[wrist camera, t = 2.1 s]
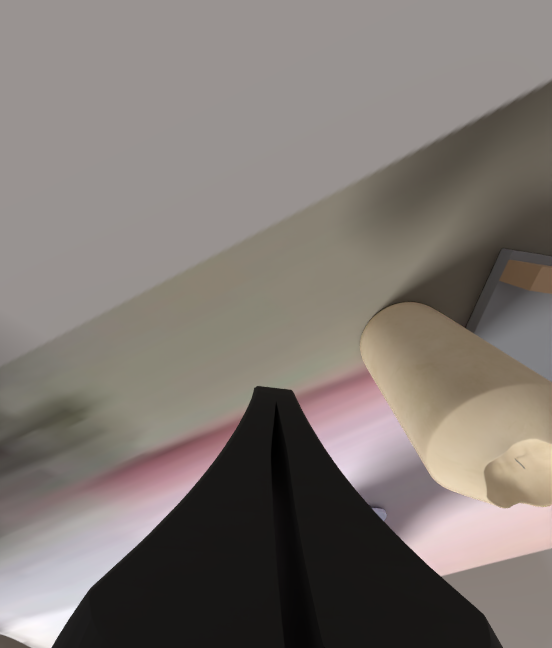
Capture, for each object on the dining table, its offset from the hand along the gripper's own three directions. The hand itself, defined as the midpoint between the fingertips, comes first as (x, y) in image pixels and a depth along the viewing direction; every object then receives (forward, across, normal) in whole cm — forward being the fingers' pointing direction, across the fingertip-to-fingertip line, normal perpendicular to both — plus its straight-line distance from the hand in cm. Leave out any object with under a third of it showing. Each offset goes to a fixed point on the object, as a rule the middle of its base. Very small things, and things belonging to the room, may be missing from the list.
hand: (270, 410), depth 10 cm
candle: (+8, -8, 0) cm, 12 cm away
